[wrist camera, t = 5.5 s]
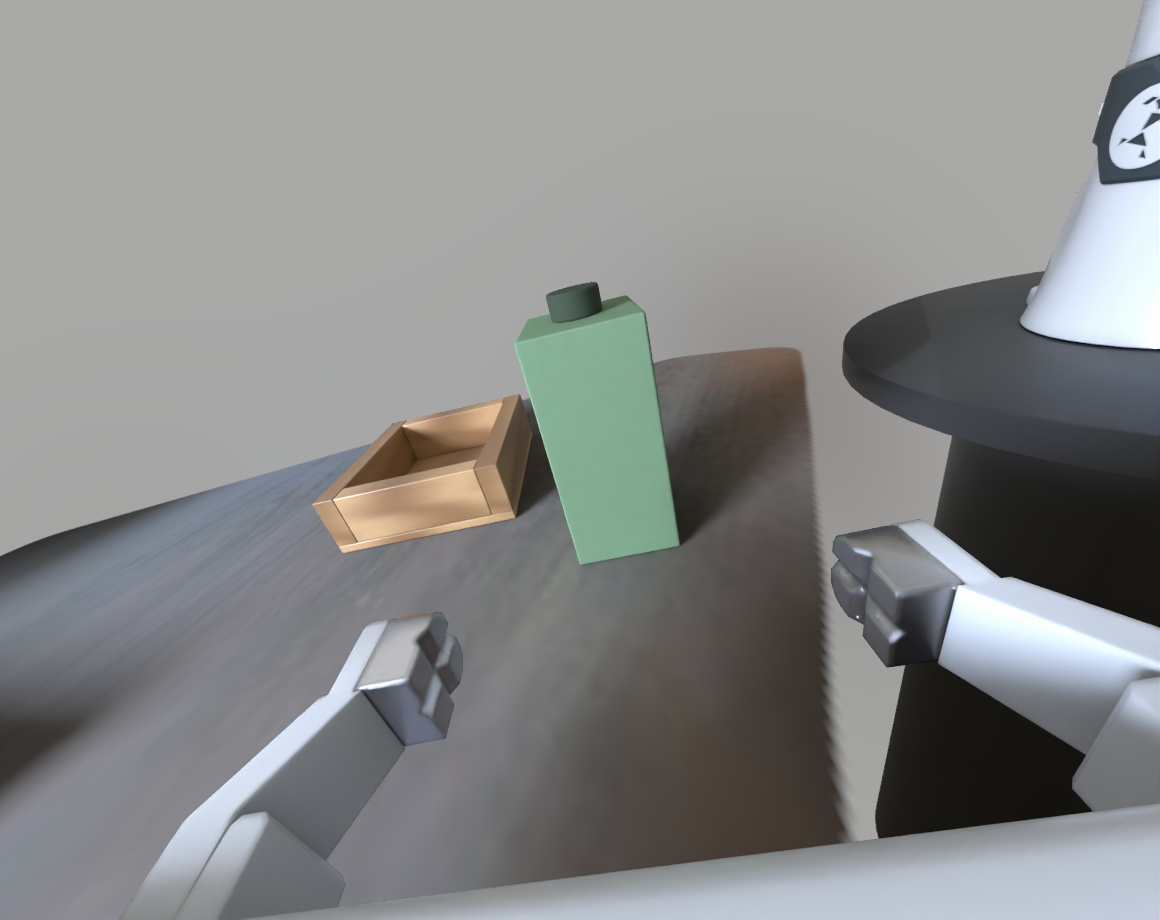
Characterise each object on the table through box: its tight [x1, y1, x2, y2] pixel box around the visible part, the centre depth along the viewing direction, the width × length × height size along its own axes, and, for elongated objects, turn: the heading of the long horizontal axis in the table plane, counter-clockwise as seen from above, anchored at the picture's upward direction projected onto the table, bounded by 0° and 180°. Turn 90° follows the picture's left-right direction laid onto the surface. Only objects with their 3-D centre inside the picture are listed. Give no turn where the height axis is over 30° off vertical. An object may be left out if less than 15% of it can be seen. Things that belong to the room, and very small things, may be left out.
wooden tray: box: [312, 394, 533, 553], centre depth 28 cm, size 10×11×4 cm
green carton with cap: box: [514, 282, 680, 565], centre depth 18 cm, size 4×5×11 cm
